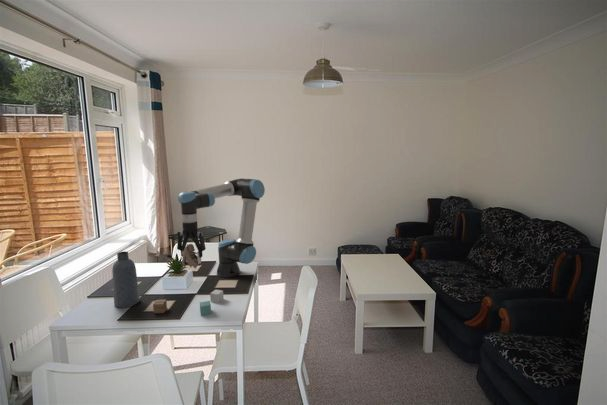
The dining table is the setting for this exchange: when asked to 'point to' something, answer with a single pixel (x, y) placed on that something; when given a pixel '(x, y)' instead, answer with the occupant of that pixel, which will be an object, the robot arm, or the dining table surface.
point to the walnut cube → (159, 306)
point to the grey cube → (216, 296)
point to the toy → (190, 256)
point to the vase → (125, 281)
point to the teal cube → (205, 308)
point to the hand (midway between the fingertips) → (192, 262)
